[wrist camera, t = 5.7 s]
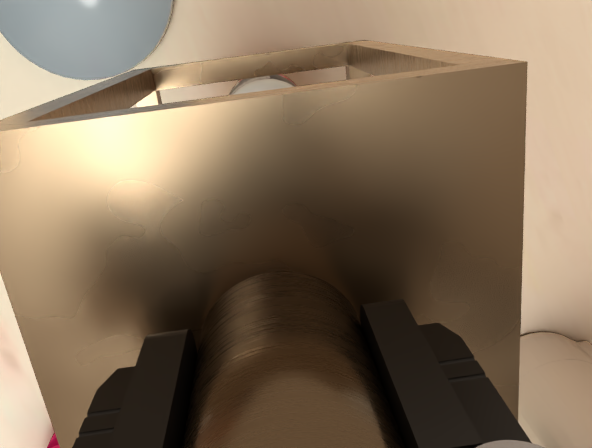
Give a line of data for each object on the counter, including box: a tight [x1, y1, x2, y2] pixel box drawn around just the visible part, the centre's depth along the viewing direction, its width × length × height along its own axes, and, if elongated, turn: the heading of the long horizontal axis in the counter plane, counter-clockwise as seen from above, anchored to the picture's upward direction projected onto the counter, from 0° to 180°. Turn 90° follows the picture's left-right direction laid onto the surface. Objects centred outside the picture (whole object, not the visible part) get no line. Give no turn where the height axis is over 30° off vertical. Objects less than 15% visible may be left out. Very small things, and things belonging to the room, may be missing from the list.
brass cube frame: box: [0, 40, 527, 448], centre depth 14 cm, size 9×9×19 cm
